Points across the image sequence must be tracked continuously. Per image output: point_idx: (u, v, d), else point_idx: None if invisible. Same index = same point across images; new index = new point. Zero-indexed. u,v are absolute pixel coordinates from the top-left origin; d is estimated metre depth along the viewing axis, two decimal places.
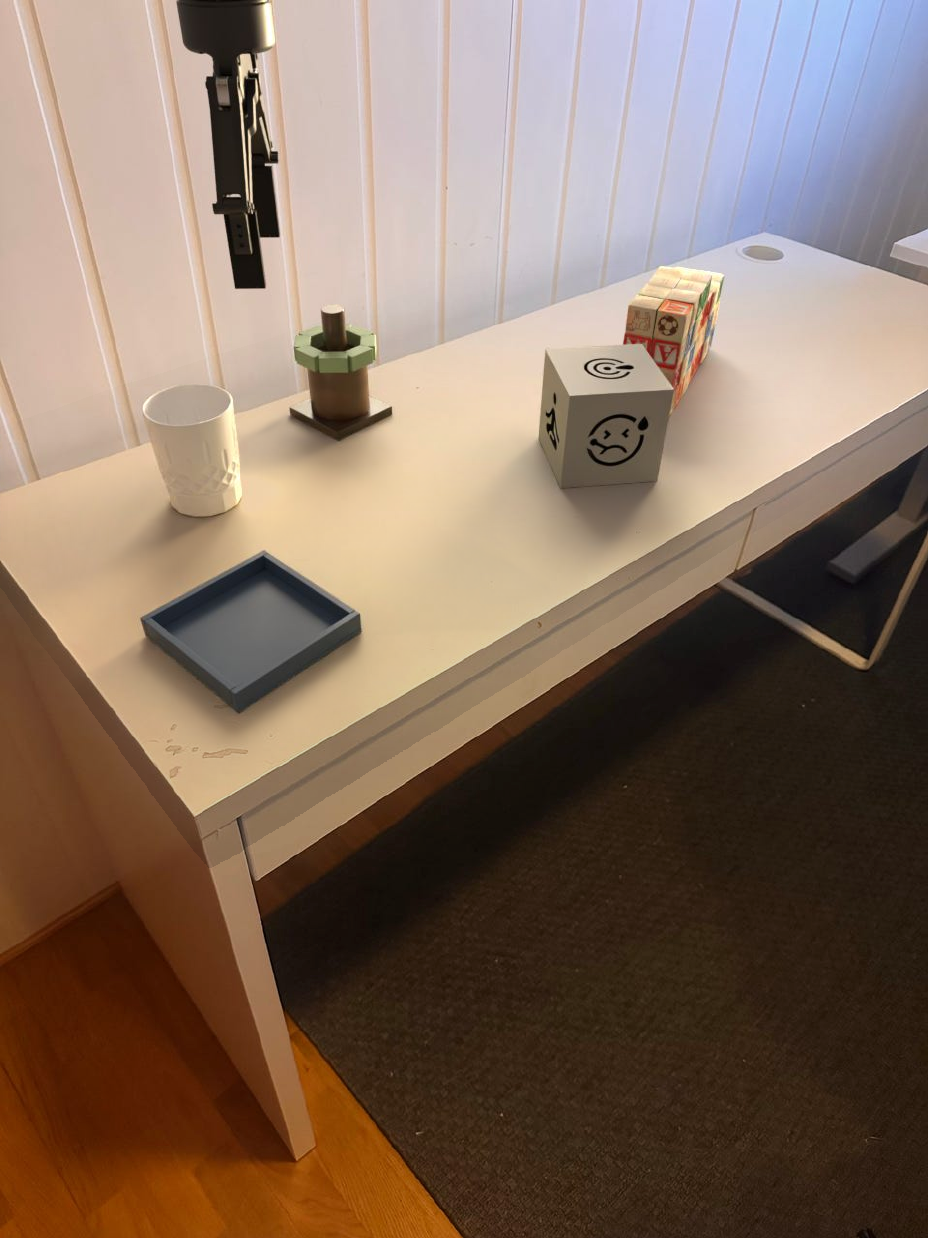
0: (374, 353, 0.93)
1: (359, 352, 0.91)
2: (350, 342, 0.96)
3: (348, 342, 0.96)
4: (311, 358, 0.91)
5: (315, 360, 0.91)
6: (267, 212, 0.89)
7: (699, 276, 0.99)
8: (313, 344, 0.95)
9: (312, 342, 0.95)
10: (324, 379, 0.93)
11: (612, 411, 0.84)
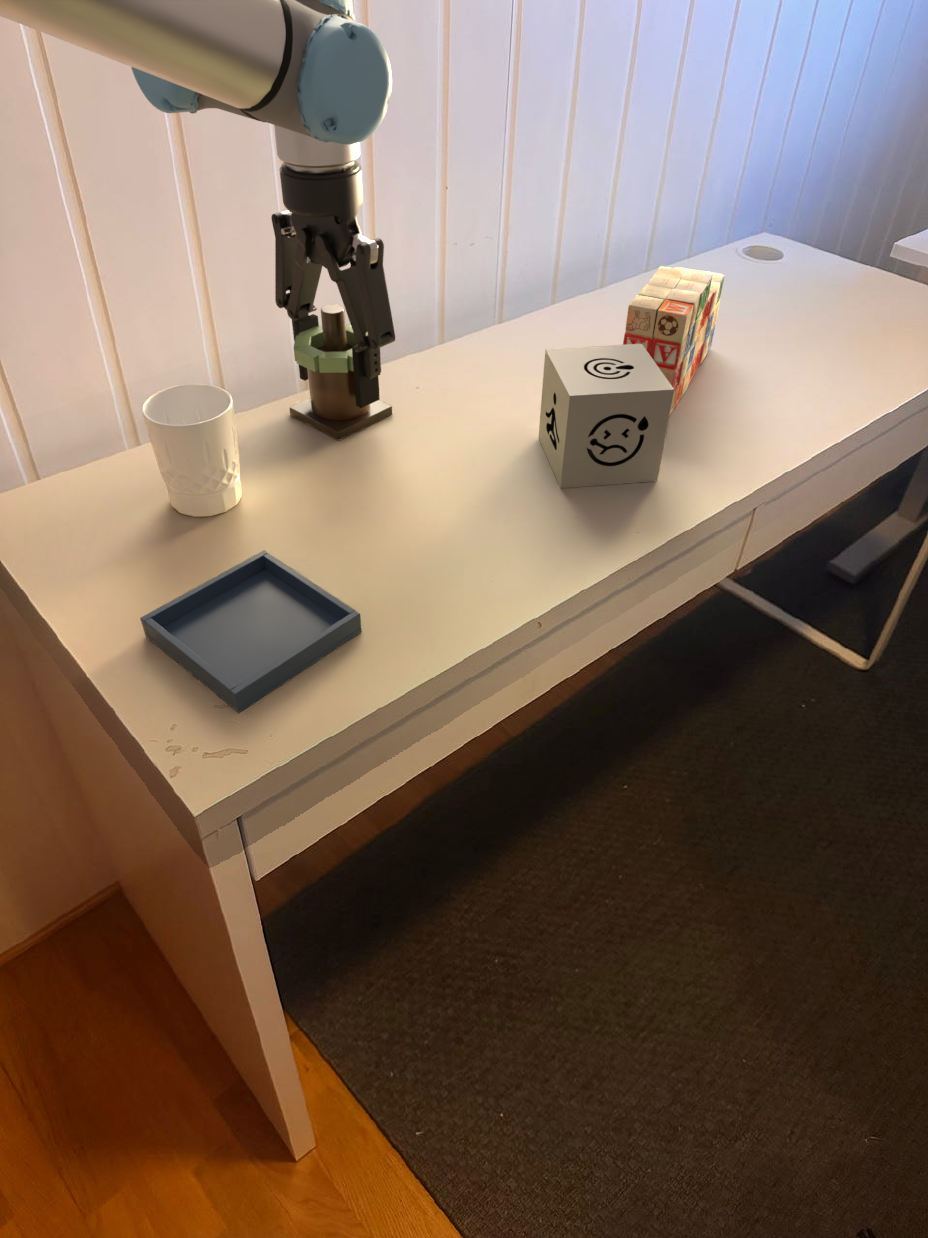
0: None
1: None
2: (350, 342, 0.96)
3: (348, 342, 0.96)
4: (311, 358, 0.91)
5: (315, 360, 0.91)
6: None
7: (699, 276, 0.99)
8: (313, 344, 0.95)
9: (312, 342, 0.95)
10: (324, 379, 0.93)
11: (612, 411, 0.84)
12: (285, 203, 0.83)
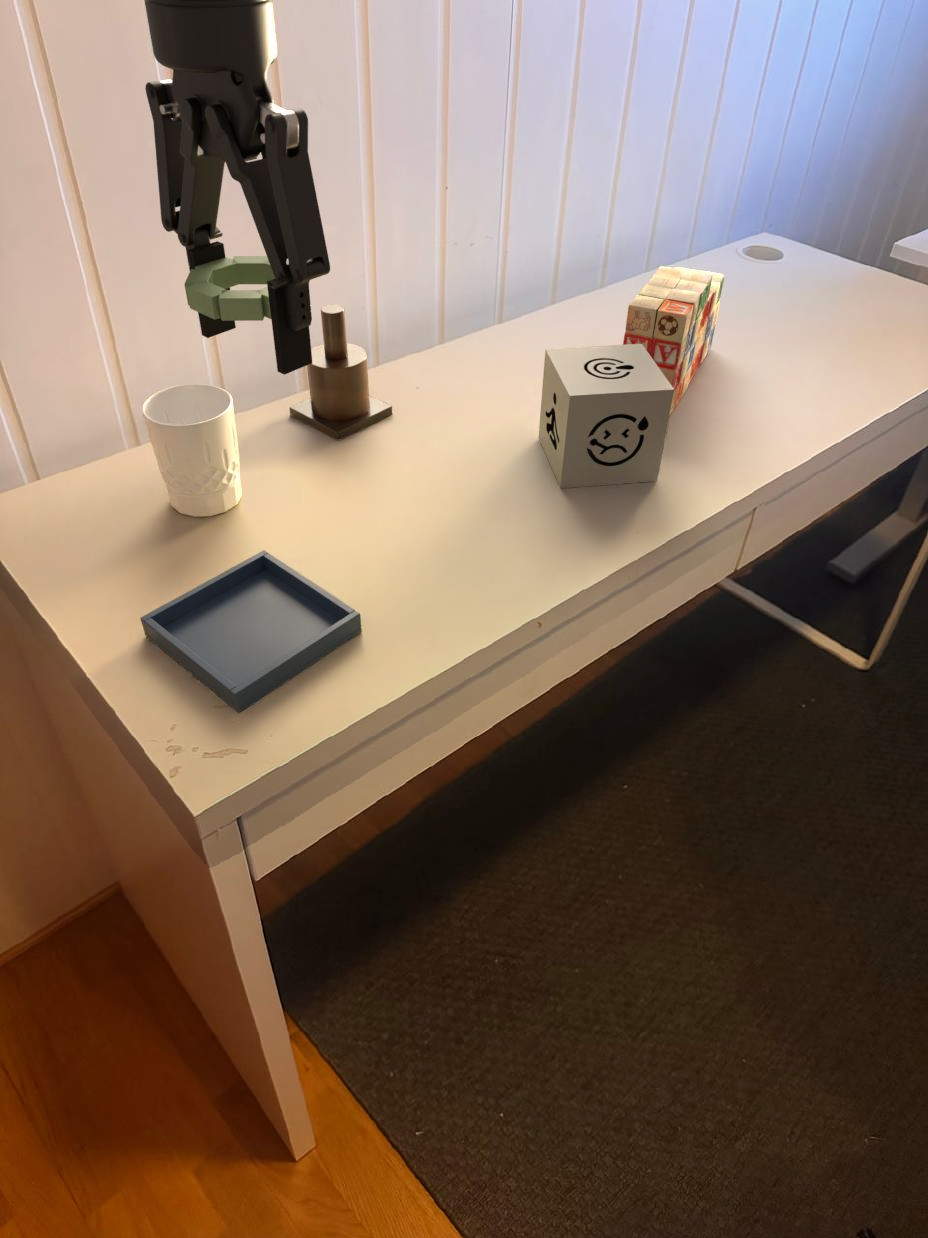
0: None
1: None
2: None
3: None
4: (208, 299, 0.62)
5: (213, 301, 0.62)
6: None
7: (699, 276, 0.99)
8: (217, 282, 0.66)
9: (214, 279, 0.66)
10: (324, 379, 0.93)
11: (612, 411, 0.84)
12: (155, 52, 0.54)
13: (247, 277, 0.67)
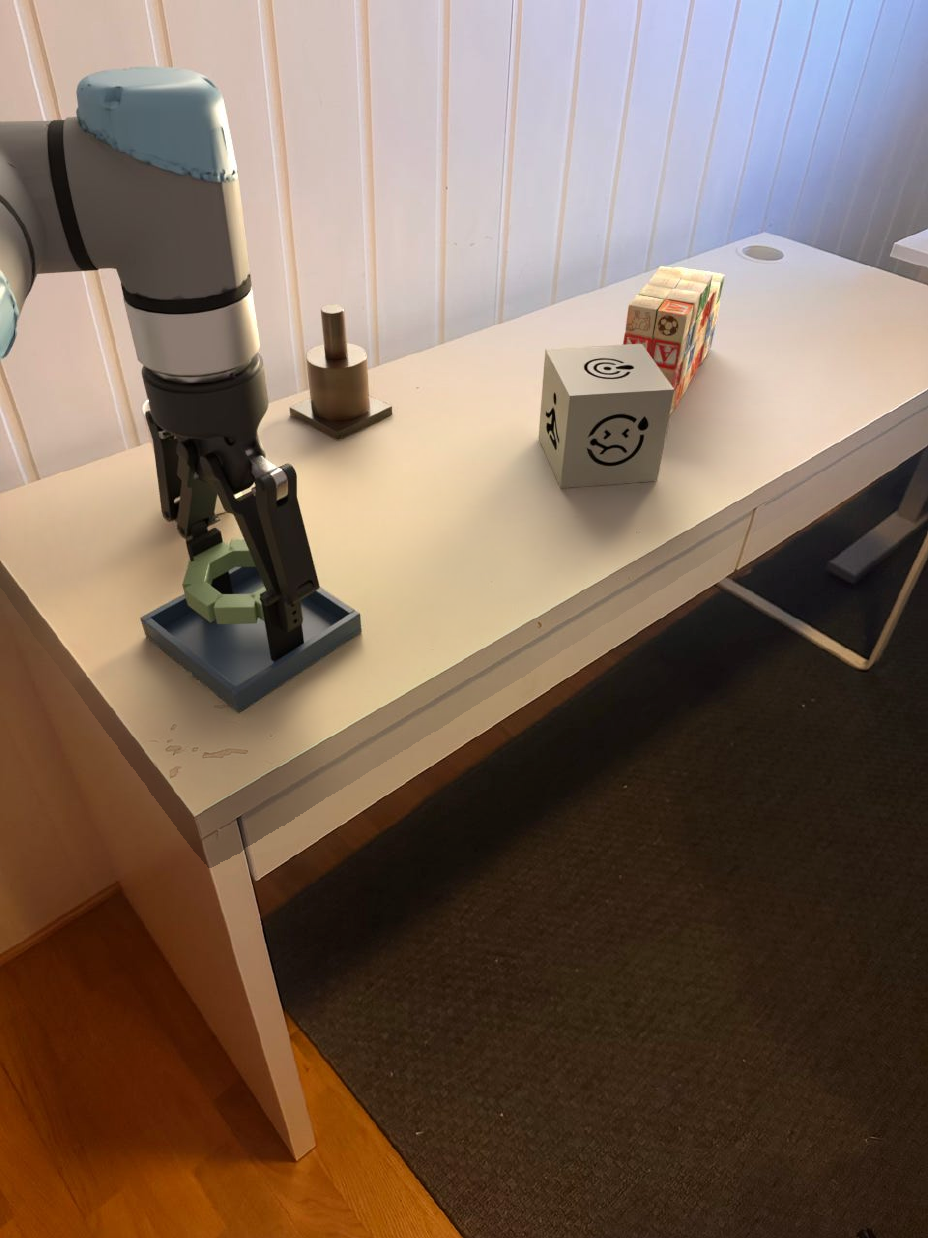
0: None
1: None
2: None
3: None
4: (204, 606, 0.65)
5: (209, 609, 0.65)
6: (219, 577, 0.72)
7: (699, 276, 0.99)
8: (214, 572, 0.69)
9: (212, 570, 0.69)
10: (324, 379, 0.93)
11: (612, 411, 0.84)
12: (152, 416, 0.57)
13: (243, 562, 0.70)
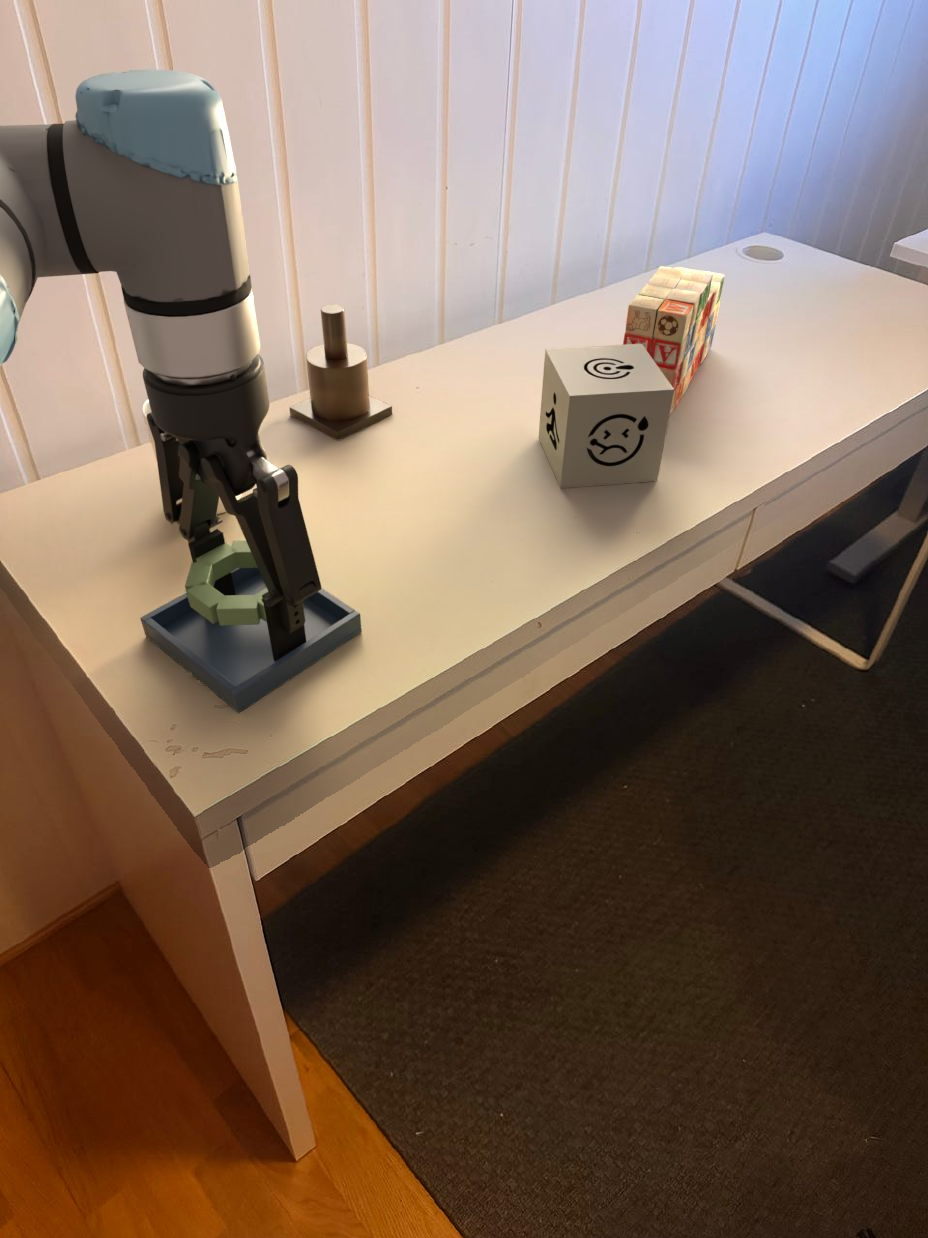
0: None
1: None
2: None
3: None
4: (207, 608, 0.65)
5: (212, 610, 0.65)
6: (222, 578, 0.72)
7: (699, 276, 0.99)
8: (216, 573, 0.69)
9: (214, 571, 0.69)
10: (324, 379, 0.93)
11: (612, 411, 0.84)
12: (153, 418, 0.57)
13: (245, 563, 0.70)
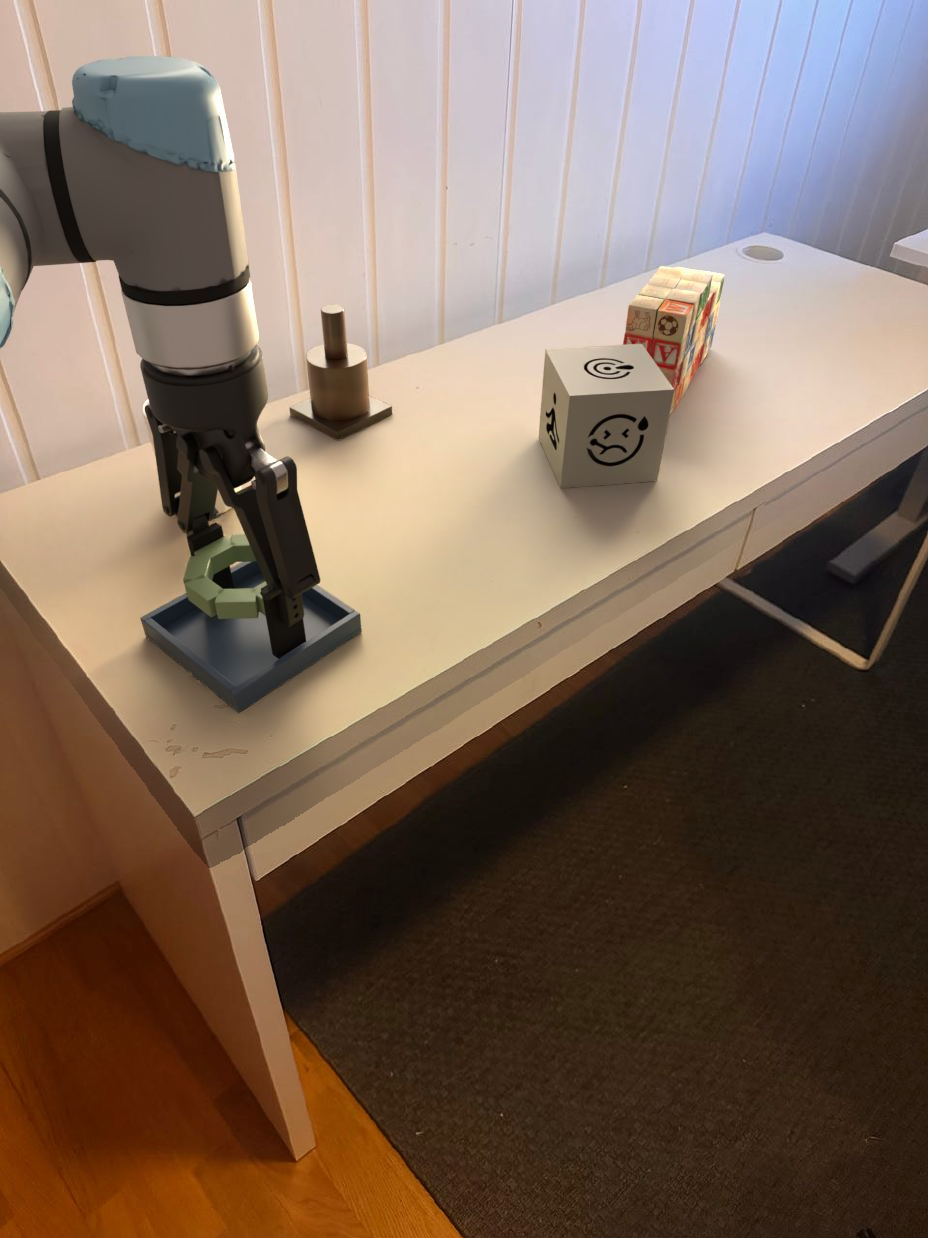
0: None
1: None
2: None
3: None
4: (205, 601, 0.65)
5: (210, 603, 0.65)
6: (221, 572, 0.72)
7: (699, 276, 0.99)
8: (215, 566, 0.69)
9: (213, 565, 0.68)
10: (324, 379, 0.93)
11: (612, 411, 0.84)
12: (151, 409, 0.57)
13: (244, 556, 0.70)
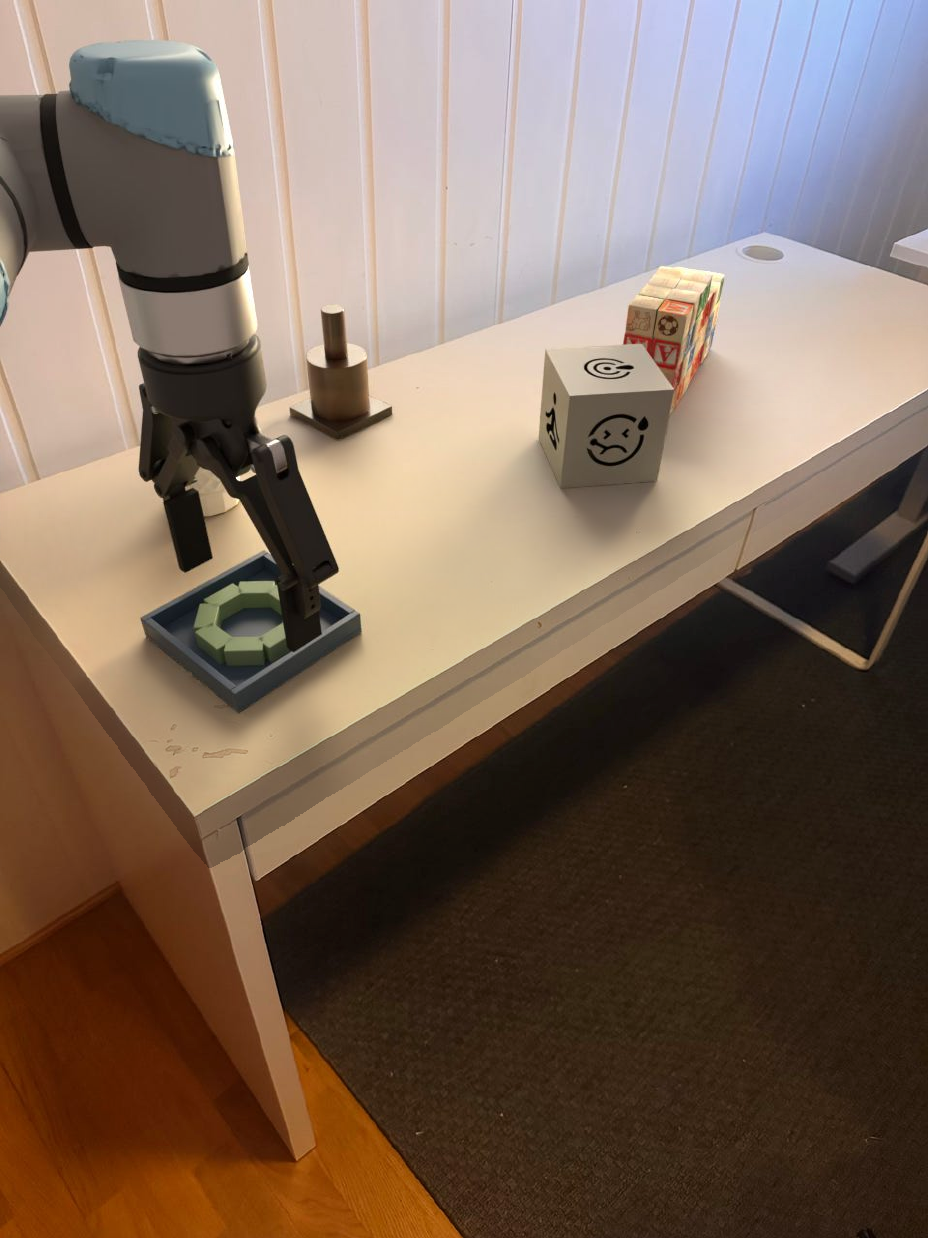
0: None
1: (280, 638, 0.68)
2: (273, 607, 0.73)
3: (270, 606, 0.73)
4: (215, 649, 0.68)
5: (219, 652, 0.68)
6: (198, 539, 0.71)
7: (699, 276, 0.99)
8: (223, 613, 0.72)
9: (221, 612, 0.72)
10: (324, 379, 0.93)
11: (612, 411, 0.84)
12: (148, 398, 0.56)
13: (251, 603, 0.73)
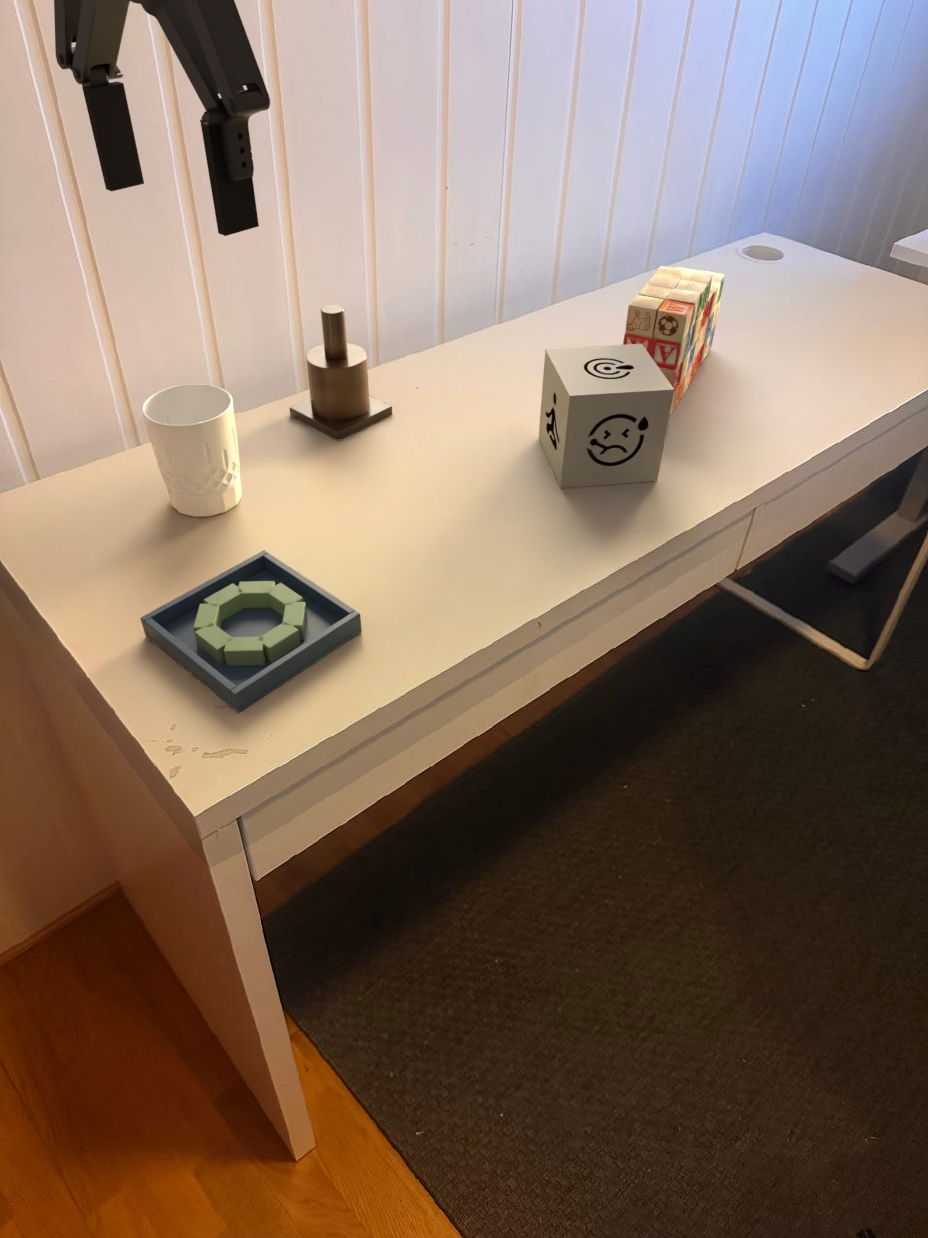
0: (301, 632, 0.70)
1: (280, 638, 0.68)
2: (273, 607, 0.73)
3: (270, 606, 0.73)
4: (215, 649, 0.68)
5: (219, 652, 0.68)
6: (125, 150, 0.64)
7: (699, 276, 0.99)
8: (223, 613, 0.72)
9: (221, 612, 0.72)
10: (324, 379, 0.93)
11: (612, 411, 0.84)
12: None
13: (251, 603, 0.73)
